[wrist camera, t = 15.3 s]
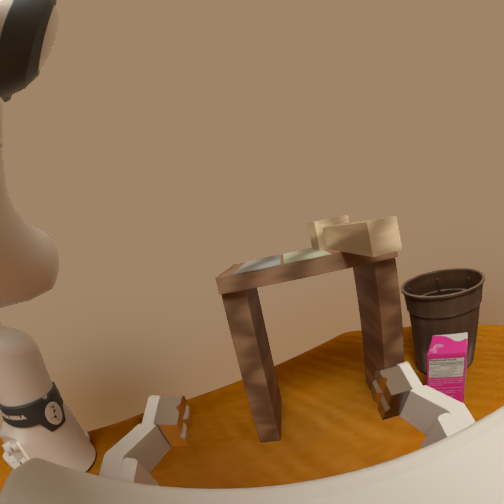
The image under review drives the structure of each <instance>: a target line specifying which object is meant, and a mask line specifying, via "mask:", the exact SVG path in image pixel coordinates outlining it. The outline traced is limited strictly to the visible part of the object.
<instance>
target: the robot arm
mask: <svg viewBox="0 0 504 504" xmlns="http://www.w3.org/2000/svg"><path fill="white" fill-rule="evenodd" d="M57 26H58V17H57V10H56V0H0V308H1V307H5V306H9V305H13V304H17V303H20V302H24V301H28V300H31V299H33V298H35V297H37V296H39V295H41V294H43V293H45V292H47V291H49V290H51V289H52V288H53V286H54V285H55V282H56V280H57V276H58V272H59V258H58V253H57V250H56V247H55V245H54V243H53V241H52V240H51V239H50V237H49V236H48V235H47V234H46V233H45V232H44V231H42V230H40V229H38V228H36V227H34V226H32V225H30V224H29V223H28V222H26V221H25V220H24V219H23V218H22V217H21V216H20V215H19V214H18V212H17V211H16V210H15V208H14V206H13V205H12V203H11V201H10V198H9V195H8V192H7V187H6V181H5V173H4V164H3V163H4V162H3V110H2V99H3V101H4V102H7V101H9V100H10V98H11V96H12V94H14V93H16V92H18V91H20V90H22V89H24V88H25V87H27V86H28V85H29V84H30V83H31V82H32V81H33V80H34V79H35V78H36V77H37V76H38V75H39V72H40V69H41V67H42V66H43V65H44V63H45V61H46V60H47V58H48V56H49V54H50V52H51V50H52V47H53V45H54V41H55V38H56V33H57ZM374 377H375V380H374V381H373V383H372V387H371V390H372V396H373V399H374V401H375V402H376V403H378V404H379V407H378V411H379V413H380V415H381V418H382V420H385V419H388V418H392V417H395V416H399V415H400V417H401V418H403V419H404V420H406V421H407V422H408V423H410V424H411V425H413V426H414V427H415V428H417V429H418V430H419V431H421V432H422V433H424V434H425V435H427V436H426V438H425V439H424V441H423V442H422V444H421V446H420V447H421V449H419V450H416V451H414V452H411V453H409V454H406V455H403V456H401V457H398V458H395V459H392V460H389V461H386V462H383V463H380V464H377V465H373V466H370V467H367V468H363V469H359V470H356V471H352V472H348V473H344V474H340V475H335V476H331V477H326V478H321V479H316V480H310V481H304V482H298V483H291V484H283V485H275V486H265V487H252V488H230V489H201V488H180V487H167V486H158V484H159V483H158V482H157V481H156V480H155V479H154V478H153V477H152V476H151V475H150V473H151V471H152V470H153V469H154V468H155V467H156V465H157V464H158V463H159V462H160V460H161V459H162V458H163V457H164V456H165V454H166V453H167V452H168V451H169V449H170V448H171V447H189V446H190V437H191V434H190V432H189V429H190V428H191V427H192V413H191V410H190V407H189V406H187V405H186V402H187V400H186V399H185V396H159V395H150V397H149V398H148V401H147V405H146V409H145V412H144V416H143V420H142V424H138V425H137V426H136V427H134V428H133V429H132V430H131V431H130V432H129V433H128V434H127V435H125V436H124V437H123V438H122V439H121V440H120V441H119V442H117V443H116V444H115V445H114V446H113V447H112V448H111V449H109V450H108V451H107V452H106V453H105V455H104V459H103V462H102V465H101V469H100V472H99V476H98V475H94V474H90V473H86V471H87V470H88V469H89V468H90V466H91V465H92V464H93V462H94V460H95V456H96V451H95V448H94V446H93V445H92V444H91V443H90V435H89V434H88V432H87V431H84V430H82V428H81V427H80V425H79V424H78V422H77V421H76V419H75V417H74V416H73V414H72V412H71V411H70V409H69V407H68V406H67V405H66V404H63V400H62V398H61V396H60V392H59V391H58V389H57V387H56V385H55V383H54V382H52V381H51V379H50V376H49V374H48V371H47V369H46V366H45V364H44V361H43V358H42V355H41V353H40V350H39V347H38V345H37V343H36V342H35V340H34V339H33V338H32V337H31V336H30V335H28V334H27V333H25V332H22V331H20V330H16V329H12V328H9V327H6V326H4V325H2V324H1V323H0V412H1V414H2V417H3V420H4V423H3V426H2V429H1V432H0V436H1V438H2V440H3V442H4V444H3V445H2V448H3V449H4V451H5V452H4V454H3V459H4V460H5V462H6V463H7V464H8V465H9V466H10V467H11V468H12V469H13V471H12V472H11V473H10V475H9V476H8V478H7V480H6V482H5V484H4V486H3V489H2V491H1V493H0V504H504V405H503V406H502V407H500V408H499V409H497V410H495V411H494V412H492V413H491V414H489V415H487V416H486V417H484V418H482V419H480V420H479V421H477V422H475V420H474V419H473V417H472V415H471V414H470V412H469V411H468V409H467V407H466V406H465V404H464V403H462V402H460V401H458V400H455V399H453V398H451V397H449V396H447V395H445V394H443V393H441V392H439V391H437V390H435V389H433V388H431V387H429V386H427V385H424V386H423V385H422V383H421V382H420V380H419V378H418V377H417V375H416V374H415V372H414V370H413V369H412V367H411V366H410V364H409V363H408V362H404V363H400V364H397V365H392V366H389V367H385V368H382V369H378V370H376V371H375V374H374Z"/></svg>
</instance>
